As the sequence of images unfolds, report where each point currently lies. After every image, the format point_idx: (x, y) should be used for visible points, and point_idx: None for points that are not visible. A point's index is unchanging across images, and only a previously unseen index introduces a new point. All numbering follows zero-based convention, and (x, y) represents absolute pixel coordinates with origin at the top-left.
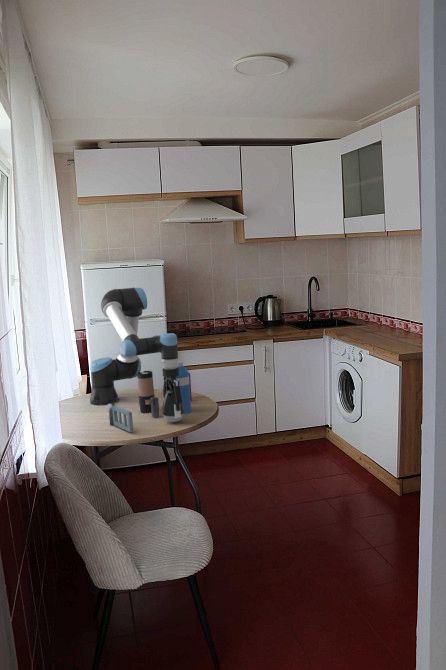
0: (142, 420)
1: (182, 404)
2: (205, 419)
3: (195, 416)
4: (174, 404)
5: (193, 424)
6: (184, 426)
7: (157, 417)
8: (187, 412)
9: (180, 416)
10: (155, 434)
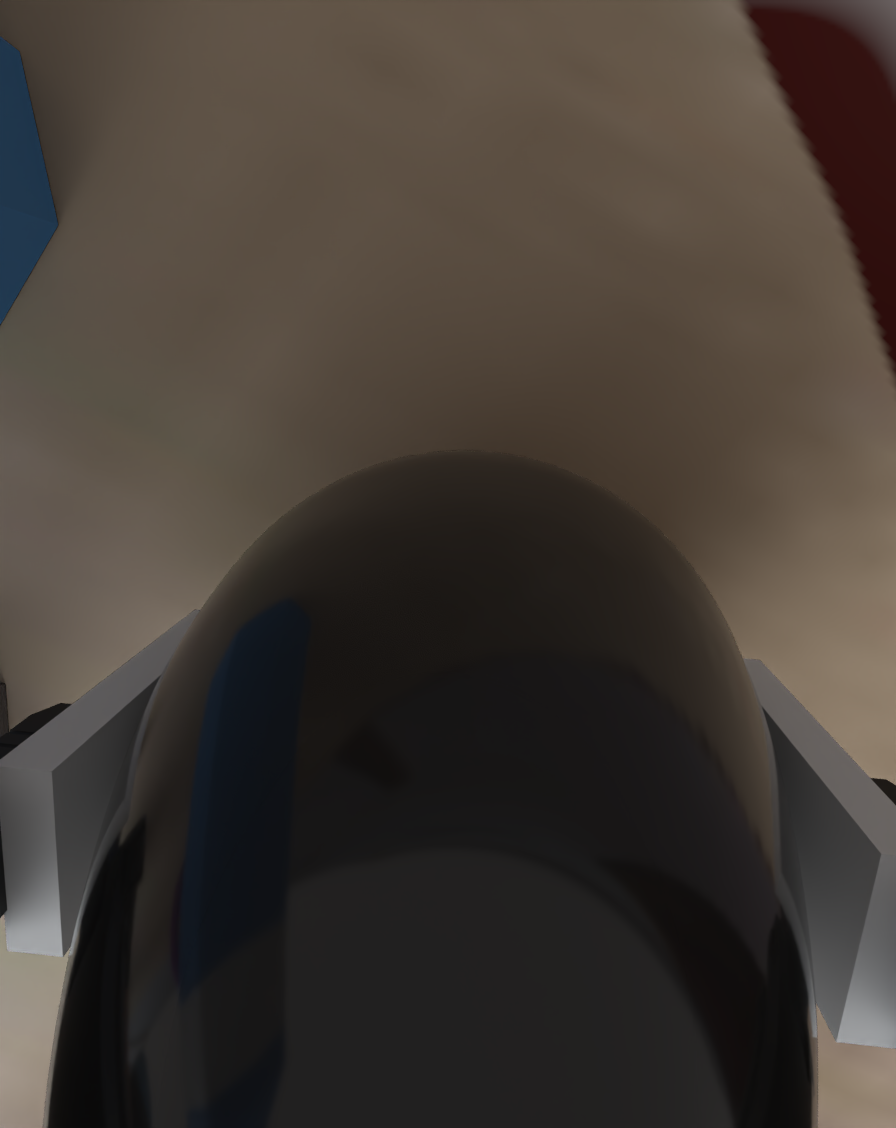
0: (35, 957)
1: (700, 617)
2: (739, 15)
3: (377, 94)
4: (889, 1040)
5: (857, 414)
6: (835, 606)
7: (6, 721)
8: (27, 113)
9: (764, 676)
10: (850, 1110)
